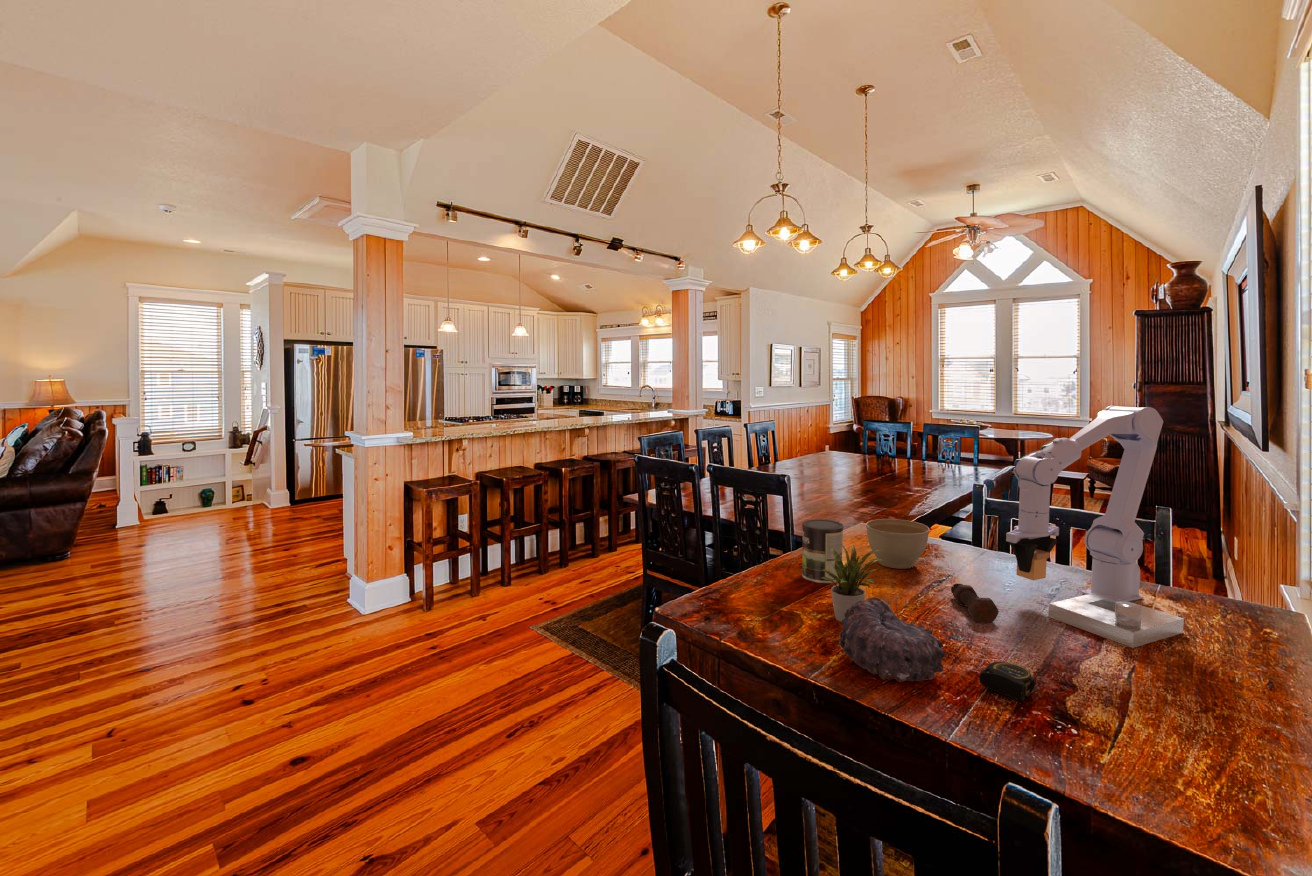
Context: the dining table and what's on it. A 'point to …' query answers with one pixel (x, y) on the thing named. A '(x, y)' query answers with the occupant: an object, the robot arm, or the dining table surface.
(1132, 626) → the grey slab with hole
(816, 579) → the coffee can
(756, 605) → the dining table surface
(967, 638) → the dining table surface
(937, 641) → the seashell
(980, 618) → the bolt
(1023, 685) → the tape measure
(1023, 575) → the tan chamfered block
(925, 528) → the planter bowl
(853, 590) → the house plant
